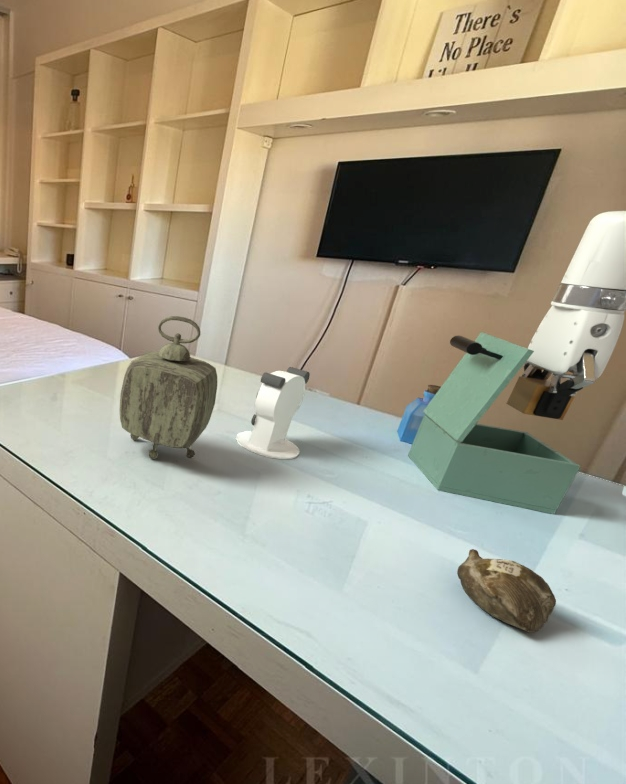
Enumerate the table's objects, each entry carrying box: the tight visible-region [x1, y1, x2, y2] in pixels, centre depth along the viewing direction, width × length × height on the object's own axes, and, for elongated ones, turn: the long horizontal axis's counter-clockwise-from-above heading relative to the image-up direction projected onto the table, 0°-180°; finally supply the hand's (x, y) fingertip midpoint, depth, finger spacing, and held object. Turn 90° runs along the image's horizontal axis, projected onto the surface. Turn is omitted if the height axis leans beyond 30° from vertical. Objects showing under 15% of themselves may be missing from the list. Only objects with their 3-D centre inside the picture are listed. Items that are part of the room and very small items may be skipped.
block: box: [506, 375, 579, 421], centre depth 74 cm, size 5×5×5 cm
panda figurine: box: [235, 366, 311, 460], centre depth 87 cm, size 12×11×15 cm
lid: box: [423, 331, 534, 442], centre depth 77 cm, size 16×14×6 cm
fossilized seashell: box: [456, 548, 557, 633], centre depth 52 cm, size 8×7×10 cm
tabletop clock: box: [119, 315, 218, 460], centre depth 78 cm, size 14×9×25 cm, turn 57°
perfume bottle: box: [396, 384, 442, 445], centre depth 95 cm, size 6×6×12 cm
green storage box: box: [407, 415, 582, 515], centre depth 79 cm, size 16×14×9 cm
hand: (534, 409), depth 75 cm, fingers closed on block, 5 cm apart
